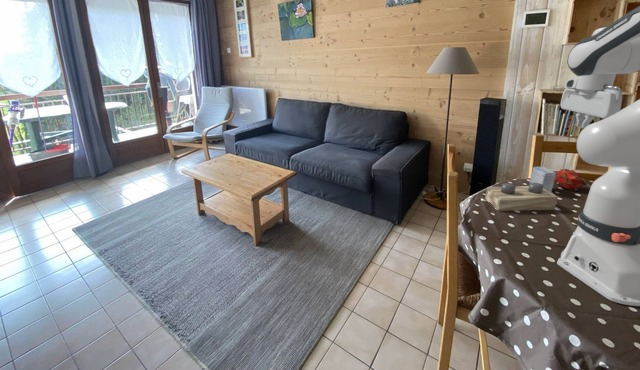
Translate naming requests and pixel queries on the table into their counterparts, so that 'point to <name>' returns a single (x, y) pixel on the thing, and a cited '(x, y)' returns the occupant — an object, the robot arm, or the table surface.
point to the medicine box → (543, 177)
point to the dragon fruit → (569, 179)
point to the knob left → (508, 188)
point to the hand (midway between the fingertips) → (581, 127)
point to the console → (521, 199)
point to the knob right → (535, 187)
